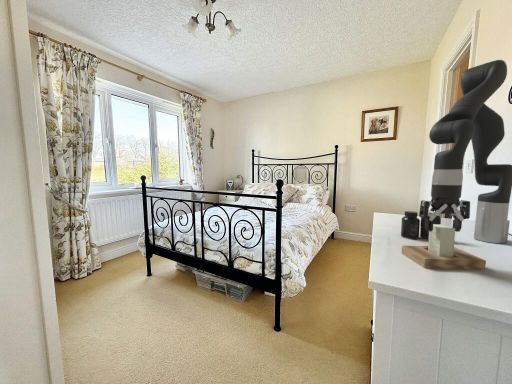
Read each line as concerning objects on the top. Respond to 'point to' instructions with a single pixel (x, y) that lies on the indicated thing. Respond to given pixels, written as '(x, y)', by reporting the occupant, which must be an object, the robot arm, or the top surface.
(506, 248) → the top surface
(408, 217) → the supplement bottle
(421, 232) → the battery charger
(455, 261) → the board
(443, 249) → the skincare box
